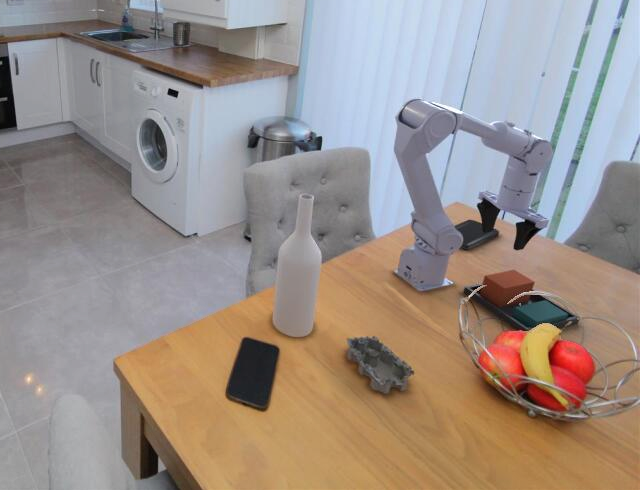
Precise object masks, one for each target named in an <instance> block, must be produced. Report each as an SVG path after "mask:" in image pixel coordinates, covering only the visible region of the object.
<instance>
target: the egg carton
mask: <svg viewBox="0 0 640 490" xmlns="http://www.w3.org/2000/svg"><path fill="white" fill-rule="evenodd" d="M346 342H347V345H348V349H347V355H346V358H347V359H348V360H349V362H354V363H357V364H358V370H357V371H358V373H359V374H360V375H361V376H365V377H368V378H369V379H370V384H369V386H370V388H372V390H375V391H378V392H380V393H382V394H384V395H385V394H389V393H390V391H391V390H390V389H391V388H395V389H396V388H397V389H398V390H399V391H401V392H403V391H406V390H407V387H408V381H409V378H410V377H411V376H414V375H415V371H414V369H412V367H411V365H409V363H408V362H406V361H405V360H404V359H403V360H402V359H401V358H400V356H398V355H397V354H396V353H394V352H393V350H392V349H391V348H389V347H388V346H387V345H385V344H384V343H383V342H381V341H380V340H379V338H378V337H377V336H376V335H373V336H372V337H369V336H368V335H366V336H364V337H363V336H360V337H357V336H355V337H354V338H350V337H347V338H346Z"/></svg>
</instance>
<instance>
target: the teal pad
mask: <svg viewBox="0 0 640 490" xmlns="http://www.w3.org/2000/svg"><path fill="white" fill-rule="evenodd" d="M567 316H568V314H567V313H566V312H564V311H562V310H561V309H559V308H557V307H556V306H554V305H553V304H551V303H549V302H548V301H546V300H544V301H540V302H535V303H531V304H527V305H522V306H518V307H515V309H514V312H513V315H512V317H513V318H514V319H516V320H517V321H519V322H520V323H522V324H523V325H524V326H526V327H527V328H529V327H533V326H537V325H539V324H542V323H550V322H554V321H558V320H562V319H566V318H567Z"/></svg>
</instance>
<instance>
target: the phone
mask: <svg viewBox="0 0 640 490" xmlns="http://www.w3.org/2000/svg"><path fill="white" fill-rule="evenodd" d="M454 226H455V229H456V230H457V231H459V232H460V233H461V234H462V236H463V243H462V246H461V247H460V248H461V249H462V250H465V251H467V250H471V249H473V248H475V247H478V246H480V245H481V244H484V243H486V242H488V241H490V240H493V239H494V238H497V237H498V236H499V234H500V230H499V229H496V228H495V227H494V228H493V230H492V232H488V233H484V232H483V231H482V222H480V221H476V220H474V219H467V220H465V221H462V222H460V223H457V224H456V225H455V224H454ZM460 248H459V249H460Z"/></svg>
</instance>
